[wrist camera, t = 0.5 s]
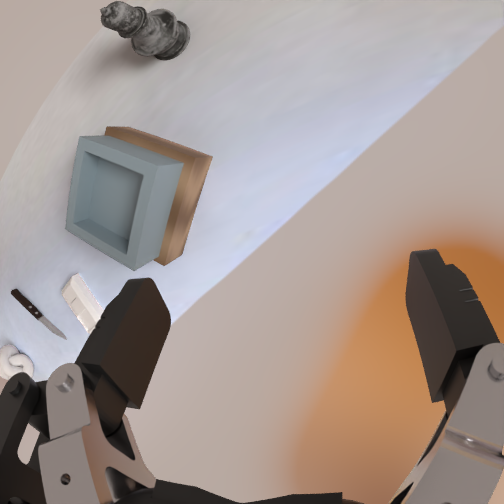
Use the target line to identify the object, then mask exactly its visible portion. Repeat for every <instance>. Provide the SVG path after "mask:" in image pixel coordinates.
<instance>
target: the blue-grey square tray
mask: <svg viewBox="0 0 504 504" xmlns="http://www.w3.org/2000/svg"><path fill="white" fill-rule="evenodd" d="M183 165H184V163H183V162H180V161H177V160H175V159H172V158H169V157H167V156H164V155H161V154H159V153H156V152H153V151H151V150H148V149H145V148H142V147H140V146H137V145H134V144H131V143H128V142H125V141H123V140H120V139H117V138H114V137H111V136H80V137H79V141H78V146H77V151H76V156H75V162H74V167H73V173H72V179H71V186H70V193H69V200H68V208H67V217H66V227H65V229H66V230H67V231H69V232H71V233H72V234H74V235H75V236H77V237H78V238H80V239H82V240H83V241H85V242H86V243H88V244H90V245H91V246H93V247H95V248H96V249H98V250H99V251H101V252H103V253H104V254H106V255H108V256H109V257H111V258H113V259H114V260H116V261H118V262H120V263H121V264H123V265H125V266H126V267H128V268H130V269H131V270H133V271H135V270H137V269H139V268H140V267H142V266H144V265H145V264H147V263H149V262H150V261H152V260H154V259H155V258H157V257H159V253H160V249H161V245H162V241H163V237H164V233H165V229H166V225H167V221H168V218H169V214H170V210H171V207H172V203H173V199H174V196H175V192H176V189H177V185H178V182H179V178H180V175H181V171H182V168H183Z"/></svg>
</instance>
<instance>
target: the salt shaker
mask: <svg viewBox="0 0 504 504" xmlns="http://www.w3.org/2000/svg"><path fill="white" fill-rule="evenodd" d="M101 13H102V16H101V22H102V24H103V26H105V27H106V28H109V29H112V30H115V31H117V32H118V33H119V35H120V36H121V37H123V38H130V37H131V38H132V39H131V42H132V47H133V49H134V51H135V52H137V53H138V54H140V55H142V56H151V55H154V56H155V57H156V58H158V59H161V60H169V59H173V58H175V57H177V56H178V55H179V54H181V53H182V52H183V51H184V49H185V48H186V46H187V45H188V42H189V39H190V31H189V28H188V26H187V25H186V24H185V23H183V22H181V21H177V19H176V17H175V15H174V14H173V13H172V12H170V11H169V10H165V9H157V10H154V11H151V12H150V13H147V12H146V10H145V9H144V8H142V7H132V6H130V5H128V4H126V3H124V2H120V1H116V2H113V3H111V4H109V5H108V6H107V7H104V8H102V9H101Z"/></svg>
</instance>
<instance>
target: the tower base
mask: <svg viewBox="0 0 504 504" xmlns="http://www.w3.org/2000/svg"><path fill="white" fill-rule="evenodd" d="M104 136H111V137H114V138H117V139H120V140H123V141H125V142H128V143H131V144H134V145H137V146H140V147H142V148H145V149H148V150H151V151H153V152H156V153H159V154H161V155H164V156H167V157H169V158H172V159H175V160H177V161H180V162H183V163H184V165H183V168H182V171H181V175H180V178H179V182H178V185H177V189H176V192H175V196H174V199H173V203H172V207H171V210H170V214H169V218H168V221H167V225H166V229H165V233H164V237H163V241H162V245H161V249H160V253H159V257H157V258H155V259H154V261H156V262H158V263H160V264H162V265H163V266H165V265H167V264H168V263H170V262H172V261H173V260H175V259H176V258H178V257H179V256H181V255H182V253H183V250H184V246H185V243H186V240H187V236H188V233H189V229H190V226H191V223H192V220H193V216H194V213H195V210H196V207H197V203H198V200H199V197H200V194H201V191H202V188H203V185H204V182H205V178H206V175H207V172H208V169H209V166H210V163H211V161H212V158H213V157H212V156H209V155H207V154H204V153H201V152H199V151H196V150H193V149H191V148H188V147H185V146H182V145H180V144H177V143H174V142H171V141H168V140H166V139H163V138H160V137H157V136H154V135H151V134H148V133H145V132H142V131H139V130H136V129H133V128H130V127H106V131H105V135H104Z"/></svg>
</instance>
